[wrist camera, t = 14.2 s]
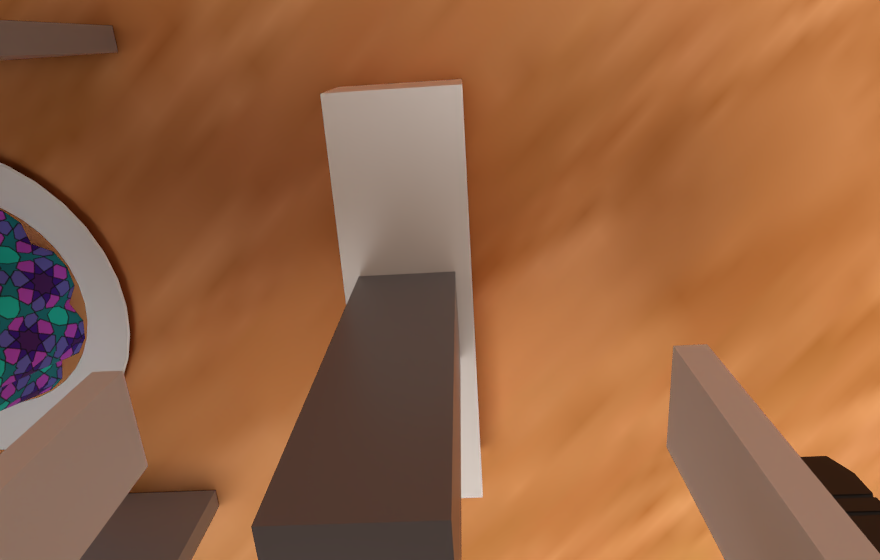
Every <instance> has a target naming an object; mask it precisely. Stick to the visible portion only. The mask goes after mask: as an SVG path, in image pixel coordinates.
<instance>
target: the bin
mask: <svg viewBox="0 0 880 560" xmlns="http://www.w3.org/2000/svg"><path fill="white" fill-rule="evenodd" d="M117 52H118V50H117V45H116V41H115V36H114V32H113V27H112V26H111V25H91V24H71V23H51V22H31V21H10V20H0V60H14V59H29V58H43V57H58V56H73V55H87V54H102V53H117ZM218 507H219V504H218V499H217V495H216V490H210V491H182V492H154V493H128V494H127V496H126V497H125V498H124V500H123V501H122V502H121V504H120V505H119V506H118V508H117V509H116V511H115V512H114V513H113V515H112V516H111V517H110V519H109V520H108V521H107V523H106V524H105V526H104V527H103V528H102V530H101V531H100V532H99V534H98V535H97V536H96V538H95V539H94V541H93V542H92V543H91V545H90V546H89V547H88V549H87V550H86V552H85V553H84V554H83V556H82V557H81V558H80V560H192V558H193V556H194V554H195V552H196V550H197V548H198V546H199V544H200V542H201V540H202V538H203V536H204V534H205V532H206V531H207V529H208V527H209V525H210V523H211V521H212V519H213V517H214V515H215V513H216V511H217V509H218Z"/></svg>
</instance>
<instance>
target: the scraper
mask: <svg viewBox="0 0 880 560" xmlns="http://www.w3.org/2000/svg"><path fill="white" fill-rule="evenodd" d="M320 97H321V105H322V113H323V121H324V129H325V137H326V145H327V154H328V162H329V170H330V178H331V186H332V194H333V202H334V210H335V218H336V226H337V235H338V243H339V251H340V259H341V267H342V275H343V283H344V291H345V299H346V307H345V309H344V312H343V314H342V316H341V319H340V321H339V323H338V326H337V328H336V330H335V333H334V335H333V337H332V340H331V342H330V344H329V347H328V349H327V351H326V354H325V356H324V358H323V361H322V363H321V365H320V368H319V370H318V372H317V375H316V377H315V379H314V382H313V384H312V386H311V389H310V391H309V393H308V396H307V398H306V400H305V403H304V405H303V407H302V410H301V412H300V414H299V417H298V419H297V421H296V424H295V426H294V428H293V431H292V433H291V435H290V438H289V440H288V442H287V445H286V447H285V449H284V452H283V454H282V456H281V459H280V461H279V463H278V466H277V468H276V470H275V473H274V475H273V477H272V480H271V482H270V484H269V487H268V489H267V491H266V494H265V496H264V498H263V501H262V503H261V505H260V508H259V510H258V512H257V515H256V517H255V519H254V522H253V524H252V526H251V527H252V532H253V537H254V542H255V547H256V552H257V557H258V560H461V498H477V497H483V491H482V471H481V451H480V431H479V410H478V390H477V370H476V350H475V330H474V310H473V290H472V270H471V250H470V230H469V210H468V190H467V169H466V149H465V129H464V109H463V89H462V79H451V80H436V81H421V82H405V83H390V84H375V85H360V86H344V87H337V88H334V89H331V90H329V91H326V92H323V93H320Z"/></svg>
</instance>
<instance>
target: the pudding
mask: <svg viewBox="0 0 880 560" xmlns="http://www.w3.org/2000/svg"><path fill="white" fill-rule="evenodd" d="M0 208H2V209H4V210H6V211H7V212H9V213H11V214H13V215H15V216H16V217H18V218H20V219H22V220H23V221H25V222H26V223H27V224H29V225H30V226H31V227H32V228H34V229H35V230H36V231H38V232H39V233H40V234H41V235H42V236H43V237H44V238H45V239H46V240H47V241H48V242H49V243H50V244H51V245H52V246H53V247H54V248H55V249H56V250H57V251H58V253H59V254H60V255H61V257H62V258H63V259H64V261H65V262H66V263H67V265H68V266H69V268H70V270H71V271H72V273H73V275H74V277H75V279H76V281H77V283H78V285H79V287H80V290H81V293H82V296H83V299H84V302H85V308H86V314H87V321H88V323H87V340H86V344H85V348H84V352H83V355H82V357H81V359H80V361H79V363H78V365H77V367H76V369H75V370H74V371H73V372H72V374H71V375H70V376H69V377H68V378H67V380H66V381H65V382H63V383H62V384H61V385H59V386H58V387H57V388H56V389H54V390H53V391H51V392H49V393H47V394H45V395H43V396H41V397H39V398H35V399H31V400H28V399H30V398H32V397H35V396H37V395H39V394H42V393H44V392H47V391H49V390H51V389H53V387H54V386H55V385H56V384H57V383H58V382H59V381H60V380H61V379H62V360H64V359H66V358H68V357H70V356H72V355H75V354H77V353H79V351H80V348H81V346H82V344H83V341H84V339H85V335H84V324H83V320H82V319H81V317H80V316H79V315H78V314H77V312H76V311H75V310H74V309H73V308H72V306H71V305H70V304H69V303H70V299H71V296H72V292H73V289H74V283H73V281H72V278H71V276H70V273H69V271H68V268H67V267H66V265H65V264H64V263H63V262H62V261H61V260H60V259H59V258H58V257H57V256H56V254H55V253H54V252H53V251H50V250H47V249H44V248H41V247H38V246H35V245H33V244H31V243H30V241H29V239H28V237H27V235H26V233H25V231H24V229H23V227H22V225H21V223H20V222H18V221H17V220H15V219H14V218H12V217H11V216H9V215H8V214H7V213H5V212H4V211H2V210H0V450H6V449H7V448H8V447H9V446H10V445H11V444H12V443H13V442H15V441H16V440H17V439H18V438H19V437H20V436H21V435H22V434H23V433H25V432H26V431H27V430H28V429H29V428H30V427H31V426H32V425H33V424H35V423H36V422H37V421H38V420H39V419H40V418H41V417H42V416H43V415H45V414H46V413H47V412H48V411H49V410H50V409H51V408H52V407H53V406H55V405H56V404H57V403H58V402H59V401H60V400H61V399H62V398H64V397H65V396H66V395H67V394H68V393H69V392H70V391H71V390H72V389H74V388H75V387H76V386H77V385H78V384H79V383H80V382H81V381H82V380H84V379H85V378H86V377H87V376H88V375H89V374H90V373H91V372H100V371H122V370H123V373H124V372H125V369H126V365H127V361H128V358H129V343H130V328H129V320H128V312H127V306H126V303H125V300H124V296H123V293H122V290H121V287H120V284H119V280H118V278H117V276H116V274H115V272H114V270H113V268H112V266H111V264H110V262H109V260H108V258H107V256H106V254H105V253H104V251H103V250H102V248H101V247H100V246H99V244H98V243H97V241H96V240H95V239H94V237H93V236H92V234H91V233H90V232H89V230H88V229H87V227H86V226H85V225H84V224H83V223H82V222H81V221H80V220H79V219H78V218H77V217H76V216H75V215H74V214H73V213H72V212H71V211H70V210H69V209H68V208H67V207H66V206H65V205H64V203H62V202H61V201H60V200H58V199H57V198H56V197H55V196H53V195H52V194H51V193H49V192H48V191H47V190H46V189H44V188H43V187H42V186H41V185H39V184H38V183H37V182H35V181H33V180H31V179H30V178H28V177H26V176H24V175H23V174H21V173H19V172H18V171H16V170H14V169H12V168H11V167H9V166H7V165H5V164H2V163H0ZM25 400H28V401H25ZM23 401H24V402H23Z"/></svg>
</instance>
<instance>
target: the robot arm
mask: <svg viewBox="0 0 880 560" xmlns="http://www.w3.org/2000/svg"><path fill="white" fill-rule="evenodd" d="M667 449H668V451H669V452H670V454H671V456H672V458H673V460H674V462H675V464H676V466H677V468H678V470H679V472H680V474H681V476H682V478H683V480H684V482H685V483H686V485H687V487H688V489H689V491H690V493H691V495H692V497H693V499H694V501H695V503H696V505H697V507H698V509H699V511H700V513H701V514H702V516H703V518H704V520H705V522H706V524H707V526H708V528H709V530H710V532H711V534H712V536H713V538H714V540H715V542H716V544H717V546H718V547H719V549H720V551H721V553H722V555H723V557H724V559H725V560H880V501H879V500H878V499H877V498H876V497H875V498H874V497H873V493H872V492H871V491H870V490H869V489H868V488H867V487H866V486H865V485H864V483H863V482H862V481H861V480H860V479H859V478H858V477H857V476H856V475H855V474H854V473H853V472H851V471H850V470H848V469H847V468H845V467H843V466H842V465H840V464H838V463H837V462H835V461H834V460H832V459H830V458H829V457H827V456H815V457H800V456H799V455H798V454H797V453H796V451H795V450H794V449H793V448H792V447H791V445H790V444H789V443H788V442H787V441H786V439H785V438H784V437H783V436H782V435H781V433H780V432H779V431H778V430H777V428H776V427H775V426H774V425H773V424H772V422H771V421H770V420H769V419H768V418H767V416H766V415H765V414H764V413H763V412H762V410H761V409H760V408H759V407H758V405H757V404H756V403H755V402H754V401H753V399H752V398H751V397H750V396H749V395H748V393H747V392H746V391H745V390H744V388H743V387H742V386H741V385H740V384H739V382H738V381H737V380H736V379H735V378H734V376H733V375H732V374H731V373H730V372H729V370H728V369H727V368H726V367H725V365H724V364H723V363H722V362H721V361H720V359H719V358H718V357H717V356H716V355H715V353H714V352H713V351H712V350H711V349H710V347H709V346H708V345H707V344H703V345H681V346H673V359H672V374H671V389H670V403H669V418H668V433H667ZM147 467H148V464H147V460H146V457H145V453H144V449H143V445H142V441H141V437H140V434H139V430H138V426H137V422H136V418H135V415H134V411H133V407H132V403H131V399H130V396H129V392H128V388H127V384H126V380H125V376H124V373H123V370H122V371H100V372H91V373H90V374H89V375H88V376H87V377H86V378H85V379H84V380H82V381H81V382H80V383H79V384H78V385H77V386H76V387H75V388H74V389H72V390H71V391H70V392H69V393H68V394H67V395H66V396H65V397H64V398H62V399H61V400H60V401H59V402H58V403H57V404H56V405H55V406H53V407H52V408H51V409H50V410H49V411H48V412H47V413H46V414H45V415H43V416H42V417H41V418H40V419H39V420H38V421H37V422H36V423H35V424H33V425H32V426H31V427H30V428H29V429H28V430H27V431H26V432H25V433H23V434H22V435H21V436H20V437H19V438H18V439H17V440H16V441H15V442H13V443H12V444H11V445H10V446H9V447H8V448H7V449H6V450H5V451H3V452H2V453H1V454H0V560H80V558H81V557H82V556H83V554H84V553H85V552H86V550H87V549H88V547H89V546H90V545H91V543H92V542H93V541H94V539H95V538H96V536H97V535H98V534H99V532H100V531H101V530H102V528H103V527H104V526H105V524H106V523H107V521H108V520H109V519H110V517H111V516H112V515H113V513H114V512H115V511H116V509H117V508H118V506H119V505H120V504H121V502H122V501H123V500H124V498H125V497H126V496H127V494H128V493H129V491H130V490H131V489H132V487H133V486H134V485H135V483H136V482H137V481H138V479H139V478H140V476H141V475H142V474H143V472H144V471H145V470H146V468H147Z"/></svg>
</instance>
